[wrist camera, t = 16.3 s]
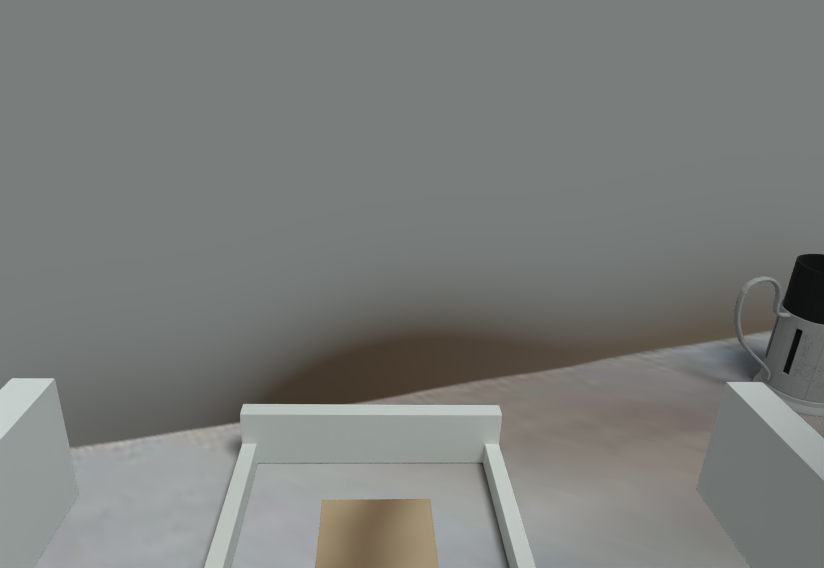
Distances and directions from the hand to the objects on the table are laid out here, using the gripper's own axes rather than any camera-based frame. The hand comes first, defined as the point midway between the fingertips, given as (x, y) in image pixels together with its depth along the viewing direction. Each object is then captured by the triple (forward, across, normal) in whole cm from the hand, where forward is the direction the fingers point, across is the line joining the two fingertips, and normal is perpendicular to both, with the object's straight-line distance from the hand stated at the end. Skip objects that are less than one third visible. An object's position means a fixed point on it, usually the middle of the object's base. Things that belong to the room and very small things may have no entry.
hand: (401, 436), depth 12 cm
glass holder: (+45, +44, -28) cm, 69 cm away
